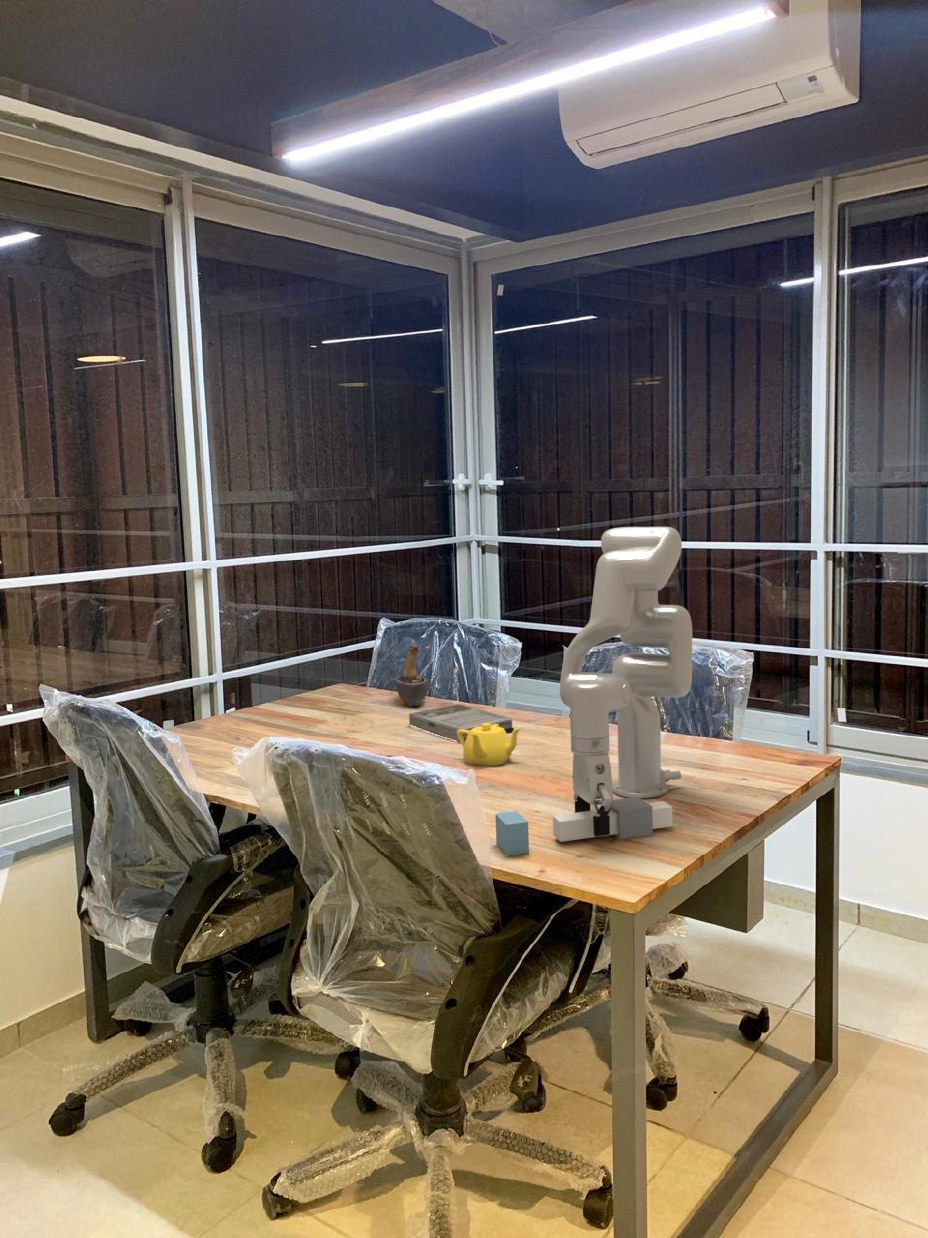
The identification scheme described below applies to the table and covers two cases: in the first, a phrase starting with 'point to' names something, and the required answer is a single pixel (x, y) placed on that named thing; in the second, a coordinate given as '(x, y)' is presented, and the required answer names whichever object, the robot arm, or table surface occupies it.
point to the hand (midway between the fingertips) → (592, 827)
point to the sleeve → (633, 818)
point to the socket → (512, 833)
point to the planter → (411, 680)
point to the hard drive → (456, 720)
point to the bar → (582, 822)
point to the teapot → (487, 744)
